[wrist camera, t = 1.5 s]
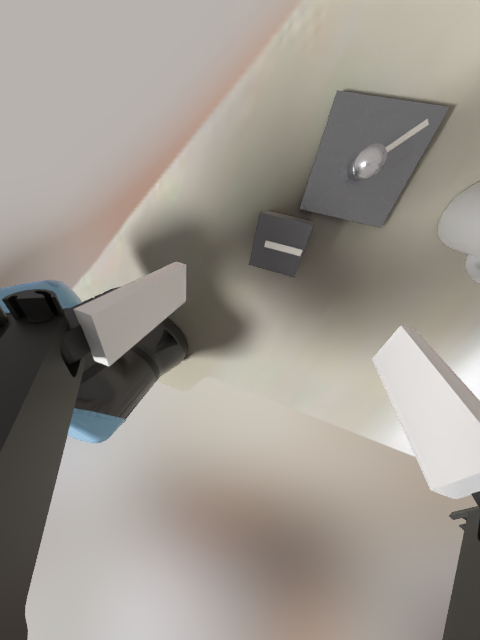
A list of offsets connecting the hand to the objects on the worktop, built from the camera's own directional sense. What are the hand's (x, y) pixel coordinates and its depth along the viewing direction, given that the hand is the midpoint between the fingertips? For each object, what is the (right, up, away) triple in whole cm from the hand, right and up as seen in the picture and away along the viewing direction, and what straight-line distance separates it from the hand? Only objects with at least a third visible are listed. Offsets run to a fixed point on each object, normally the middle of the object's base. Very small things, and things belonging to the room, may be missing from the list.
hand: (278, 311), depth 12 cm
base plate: (+11, +17, +9) cm, 22 cm away
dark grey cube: (+4, +11, +15) cm, 19 cm away
